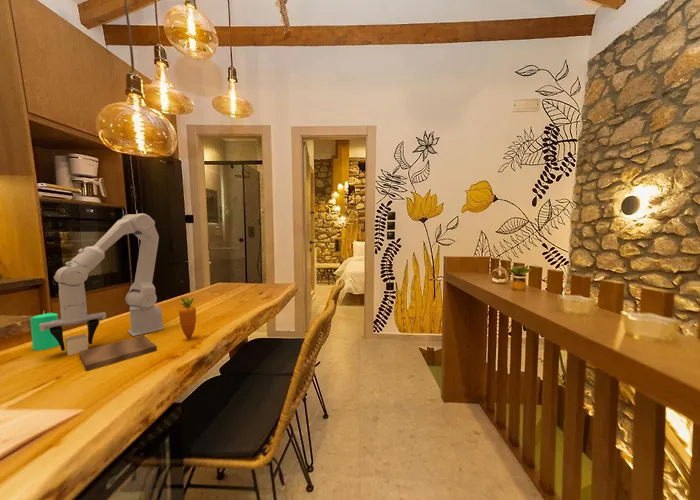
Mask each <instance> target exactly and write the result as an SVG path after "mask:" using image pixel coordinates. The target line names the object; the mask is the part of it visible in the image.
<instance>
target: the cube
mask: <svg viewBox="0 0 700 500" xmlns="http://www.w3.org/2000/svg"><path fill="white" fill-rule="evenodd" d="M64 339H65V351H66V354H67V356H72V355H75V354H80V353H79V351H83V350H87V349H89V343H88V335H86V333H81V334H77V335H72V336H67V337H65V338H64Z"/></svg>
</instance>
